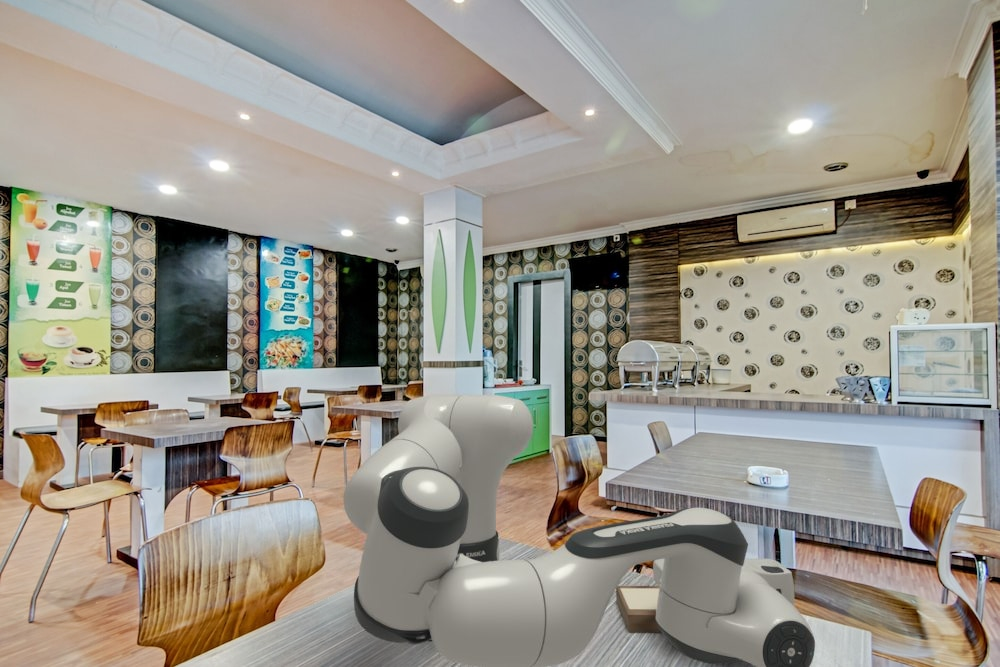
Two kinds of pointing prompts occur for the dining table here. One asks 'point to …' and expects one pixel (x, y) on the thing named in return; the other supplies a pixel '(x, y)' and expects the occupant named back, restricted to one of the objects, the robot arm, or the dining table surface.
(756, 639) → the robot arm
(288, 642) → the dining table surface
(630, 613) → the walnut base
